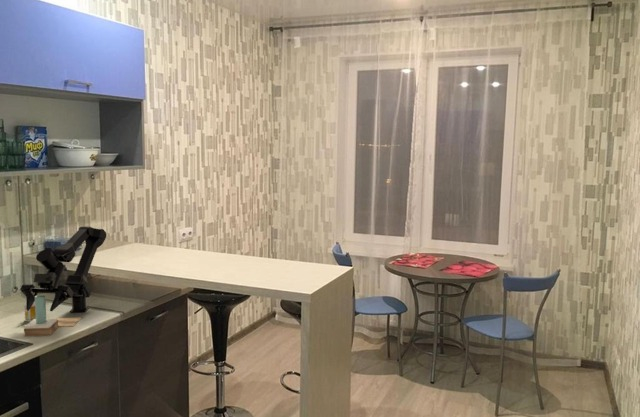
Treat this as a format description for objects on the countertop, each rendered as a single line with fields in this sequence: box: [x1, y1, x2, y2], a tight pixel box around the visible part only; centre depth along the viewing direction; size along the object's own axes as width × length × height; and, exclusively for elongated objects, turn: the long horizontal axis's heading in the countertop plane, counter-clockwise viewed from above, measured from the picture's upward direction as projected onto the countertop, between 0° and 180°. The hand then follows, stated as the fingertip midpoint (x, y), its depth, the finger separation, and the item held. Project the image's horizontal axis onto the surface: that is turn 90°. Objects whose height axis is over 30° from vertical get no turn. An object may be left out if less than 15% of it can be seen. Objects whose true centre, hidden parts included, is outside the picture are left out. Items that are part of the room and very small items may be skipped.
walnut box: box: [23, 320, 59, 337], centre depth 207 cm, size 9×9×3 cm
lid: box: [24, 295, 58, 329], centre depth 206 cm, size 9×9×11 cm
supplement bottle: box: [23, 295, 38, 323], centre depth 220 cm, size 5×5×10 cm
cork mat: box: [56, 316, 82, 328], centre depth 218 cm, size 10×10×1 cm
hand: (39, 310), depth 205 cm, fingers open, 9 cm apart
